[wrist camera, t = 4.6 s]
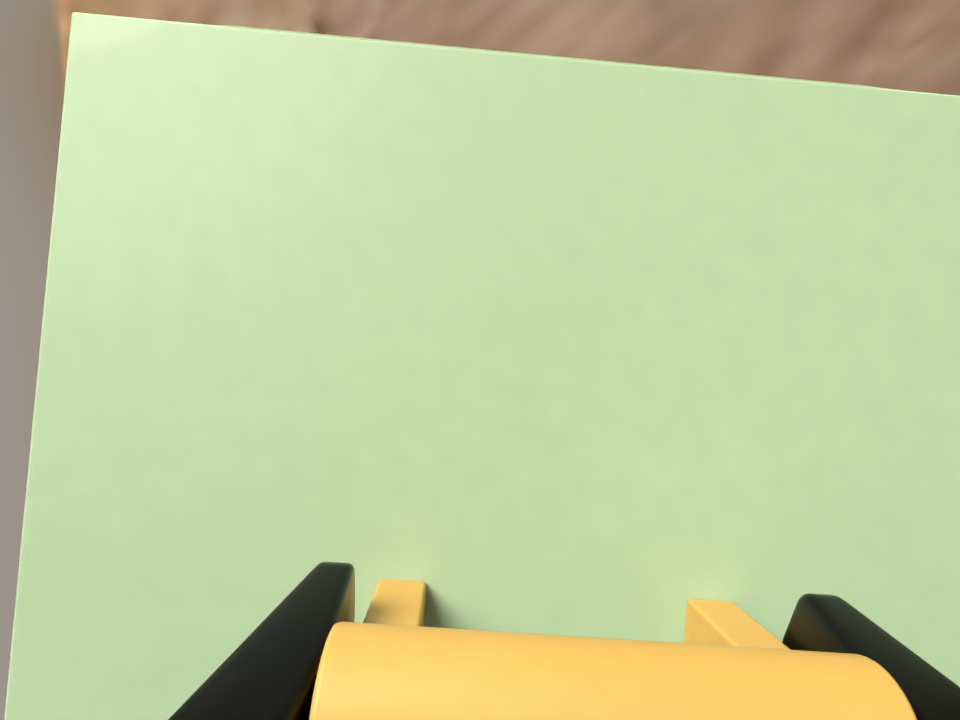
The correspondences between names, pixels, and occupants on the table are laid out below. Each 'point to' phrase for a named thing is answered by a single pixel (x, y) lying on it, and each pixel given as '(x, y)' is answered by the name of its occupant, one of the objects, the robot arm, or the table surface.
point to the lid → (488, 380)
